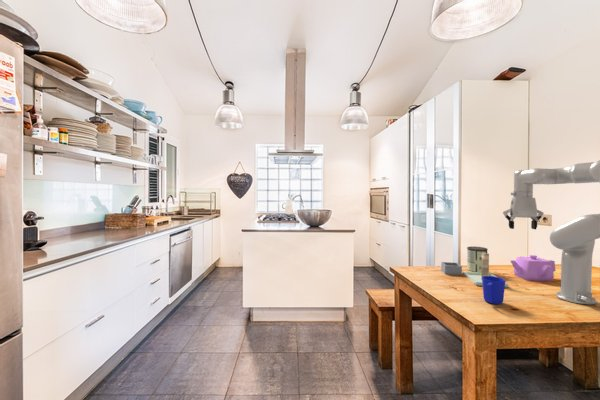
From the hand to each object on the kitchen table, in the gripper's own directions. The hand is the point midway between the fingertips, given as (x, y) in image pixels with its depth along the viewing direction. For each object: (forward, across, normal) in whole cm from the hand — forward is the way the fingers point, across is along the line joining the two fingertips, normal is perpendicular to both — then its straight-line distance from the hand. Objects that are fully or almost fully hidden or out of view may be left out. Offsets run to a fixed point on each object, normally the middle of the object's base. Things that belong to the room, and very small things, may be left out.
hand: (522, 228), depth 144 cm
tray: (+28, -16, +3) cm, 33 cm away
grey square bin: (+28, -29, +14) cm, 43 cm away
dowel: (+28, -16, +2) cm, 32 cm away
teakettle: (+29, +12, +15) cm, 34 cm away
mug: (+28, -25, -31) cm, 49 cm away
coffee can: (+28, -13, +22) cm, 38 cm away
